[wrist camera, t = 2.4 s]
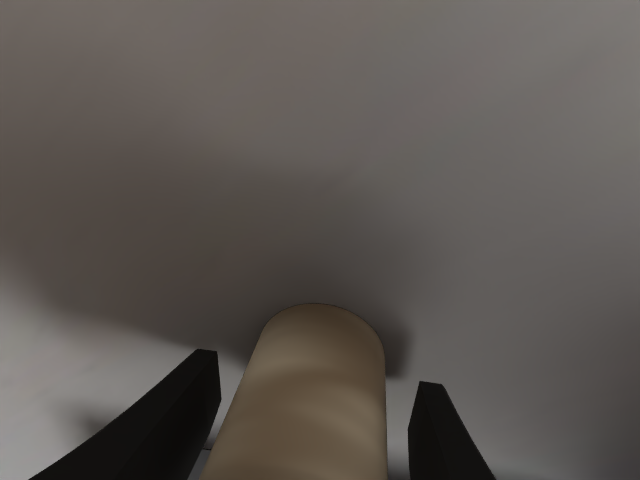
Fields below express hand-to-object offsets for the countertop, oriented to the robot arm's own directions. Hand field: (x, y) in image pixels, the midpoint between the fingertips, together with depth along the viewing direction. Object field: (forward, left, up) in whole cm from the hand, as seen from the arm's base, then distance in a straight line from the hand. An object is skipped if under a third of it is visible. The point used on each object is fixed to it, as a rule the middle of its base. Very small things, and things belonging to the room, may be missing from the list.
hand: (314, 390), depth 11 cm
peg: (0, 0, -1) cm, 1 cm away
